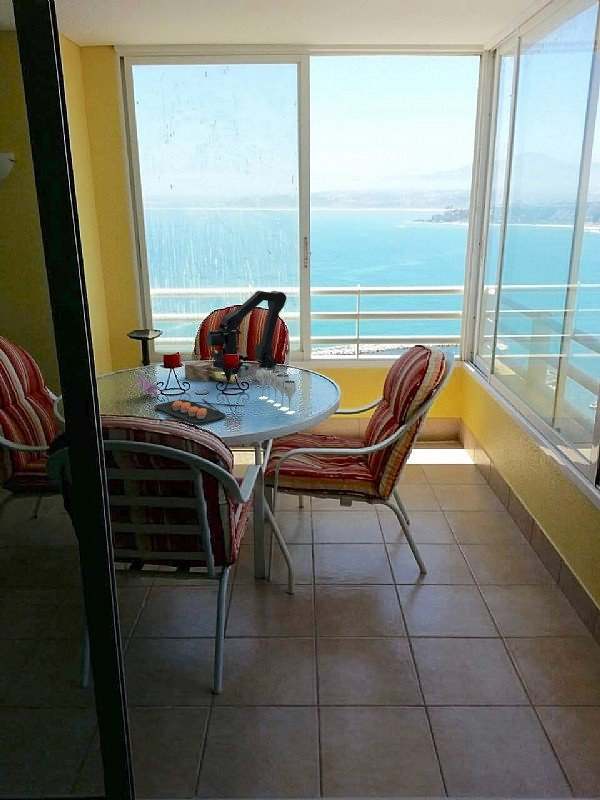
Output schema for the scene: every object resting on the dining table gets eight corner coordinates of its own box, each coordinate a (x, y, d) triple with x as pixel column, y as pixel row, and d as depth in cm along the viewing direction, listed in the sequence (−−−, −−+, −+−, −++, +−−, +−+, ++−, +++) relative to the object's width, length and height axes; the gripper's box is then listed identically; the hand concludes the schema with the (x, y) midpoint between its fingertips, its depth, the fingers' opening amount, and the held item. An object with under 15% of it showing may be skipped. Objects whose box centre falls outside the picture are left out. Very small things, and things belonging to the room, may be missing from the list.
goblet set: (299, 413, 236) (299, 378, 232) (285, 415, 233) (286, 380, 230) (265, 395, 260) (265, 363, 256) (253, 397, 257) (252, 365, 253)
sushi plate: (151, 410, 239) (150, 400, 238) (215, 396, 259) (215, 387, 258) (196, 428, 219) (196, 418, 218) (261, 411, 240) (261, 401, 238)
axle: (237, 382, 279) (238, 373, 278) (232, 384, 275) (232, 375, 274) (208, 378, 286) (208, 369, 285) (203, 379, 283) (203, 370, 282)
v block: (252, 372, 297) (252, 364, 296) (240, 377, 288) (240, 368, 287) (228, 369, 303) (227, 360, 302) (215, 373, 295) (215, 364, 294)
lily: (161, 403, 249) (167, 380, 251) (133, 395, 244) (139, 371, 246) (151, 405, 260) (157, 383, 262) (124, 397, 254) (130, 375, 256)
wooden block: (217, 378, 286) (217, 364, 284) (206, 381, 279) (206, 367, 277) (196, 374, 291) (195, 361, 290) (185, 378, 285) (184, 364, 283)
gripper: (227, 339, 285) (228, 373, 289) (202, 346, 269) (203, 381, 274) (248, 341, 280) (248, 376, 284) (223, 349, 264) (224, 385, 268)
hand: (231, 379), depth 278 cm, fingers closed on axle, 4 cm apart
